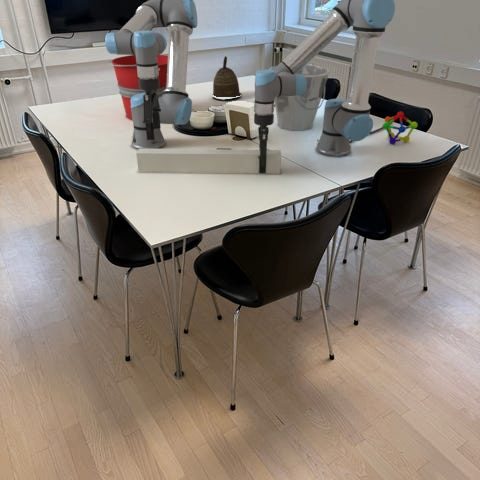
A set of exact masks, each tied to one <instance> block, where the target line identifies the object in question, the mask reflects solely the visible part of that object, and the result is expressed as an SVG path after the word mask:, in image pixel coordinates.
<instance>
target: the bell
mask: <svg viewBox="0 0 480 480" xmlns="http://www.w3.org/2000/svg"><path fill="white" fill-rule="evenodd" d="M227 63H228V57H227V56H224V58H223V63H222V67H221V68H219V69H218V70H217V71H216V73H215V75H214V78H213V81H212V83H213V84H212V95H214V96H216V97H236V96H240V95H241V96H242V93H241V92H240V83H239V80H238V79H239V78H238V77H237V75H236V73H235V72H234V70H232V69H231V68H230V67H227Z"/></svg>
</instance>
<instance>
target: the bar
mask: <svg viewBox="0 0 480 480" xmlns="http://www.w3.org/2000/svg"><path fill="white" fill-rule="evenodd" d="M135 154H136V161H137V170H138V173H158V174H159V173H161V174H162V173H166V174H168V173H170V174H171V173H172V174H253V175H254V174H257V175H258V174H262V175H263V174H265V175H271V174H272V175H275V174H276V175H281V168H282V150H281V149H267V155H266V156H267V158H266V173H259V158H258V157H260V150H259V149H237V148H236V149H234V148H230V149H217V148H215V149H214V148H158V149H137V151H136V153H135Z"/></svg>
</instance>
